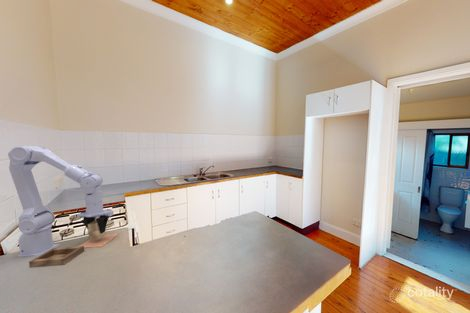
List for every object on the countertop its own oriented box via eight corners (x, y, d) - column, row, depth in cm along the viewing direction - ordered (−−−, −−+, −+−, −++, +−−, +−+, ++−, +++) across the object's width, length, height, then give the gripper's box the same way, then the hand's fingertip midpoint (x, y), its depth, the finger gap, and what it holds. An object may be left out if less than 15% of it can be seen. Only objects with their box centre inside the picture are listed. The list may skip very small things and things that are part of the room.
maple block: (89, 240, 78) (87, 224, 77) (96, 235, 82) (94, 220, 81) (98, 239, 78) (97, 223, 77) (105, 234, 82) (103, 219, 81)
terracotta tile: (75, 250, 74) (75, 248, 74) (95, 236, 85) (95, 235, 85) (102, 248, 75) (101, 246, 74) (119, 235, 86) (118, 233, 85)
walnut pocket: (29, 268, 64) (28, 261, 64) (53, 254, 72) (52, 248, 72) (65, 265, 64) (64, 259, 64) (84, 252, 72) (83, 246, 72)
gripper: (69, 206, 75) (73, 238, 76) (104, 204, 75) (107, 235, 76) (83, 201, 82) (86, 230, 83) (115, 199, 82) (118, 228, 83)
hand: (97, 232), depth 80 cm, fingers closed on maple block, 4 cm apart
